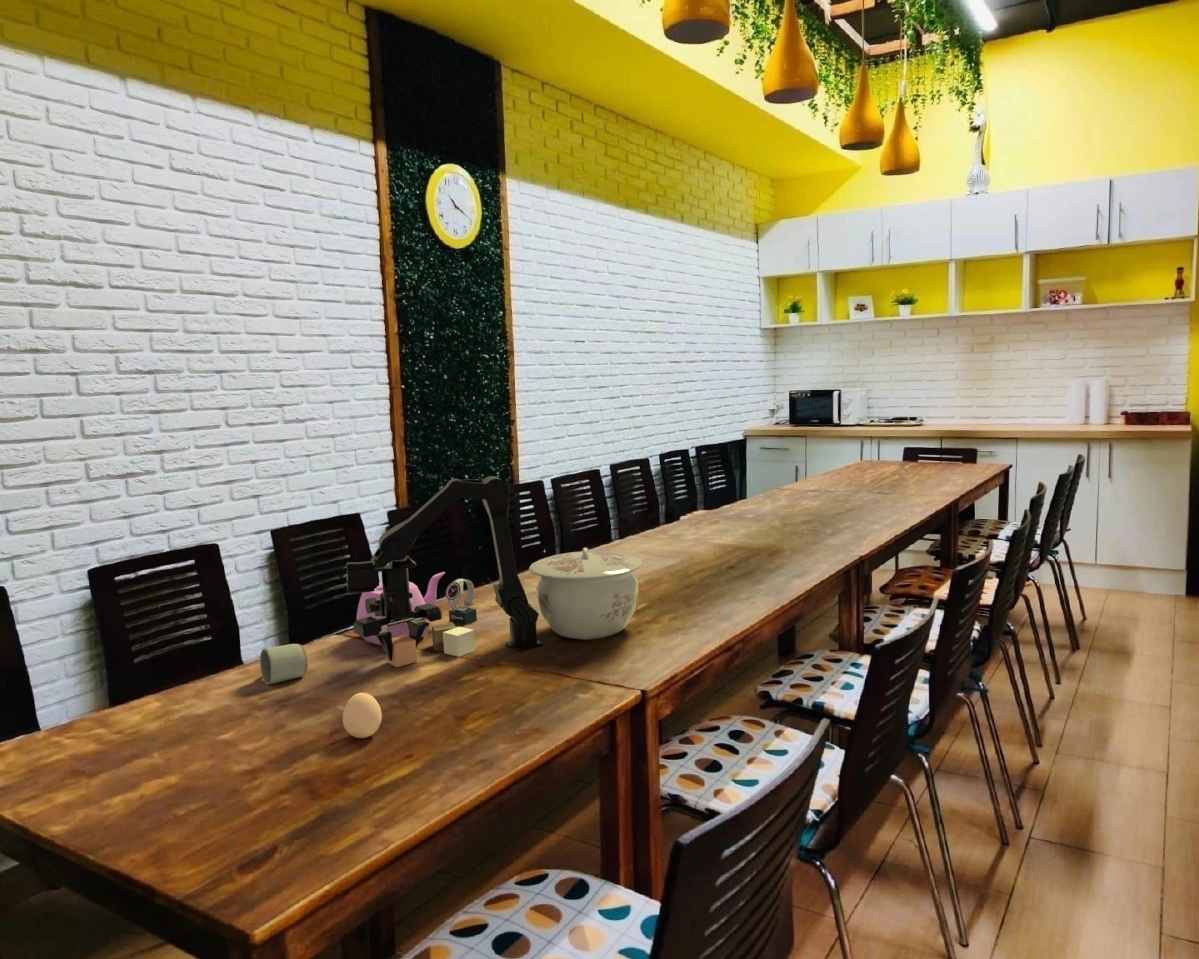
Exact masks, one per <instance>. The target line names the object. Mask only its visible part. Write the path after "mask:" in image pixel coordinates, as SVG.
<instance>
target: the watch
mask: <svg viewBox="0 0 1199 959" xmlns="http://www.w3.org/2000/svg"><path fill="white" fill-rule="evenodd" d="M464 583H465V584H466V587H467V591H466V594H465V592H464ZM475 591H476V590H475V587H474V583H473V582H472V580H469V579H465V578H457V579H455V580H454V581H452V582H451V583H449V584H448V585H447V587H446V589H445V597H446V601H447V603H448V605H449V607H450V608H451V609H450V610H449V609H448V617H449V618H448V619H449V621H448V623H450V622H453V623H454V624H455V625H461V626H462V625H463V626H467V625H469V624H472V623H475V622H478V618H477V617H478V616H477V608H473V607H471V606H472V605H473V602H474V598H475V593H476V592H475ZM464 594H465V598H464V602H463V605H462V606H458V603H459V600H460V599H461V598H462V596H463V595H464Z"/></svg>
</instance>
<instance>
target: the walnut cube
mask: <svg viewBox="0 0 1199 959" xmlns="http://www.w3.org/2000/svg"><path fill="white" fill-rule="evenodd" d="M430 625H431V637H432V646H433V649H434V650H435V652H442V651H444V643H443V632H445V631H448V630H451V629H454V628H457V626H456V624H455V623H453V622H444V623H438V624H437V623H436V624H430Z"/></svg>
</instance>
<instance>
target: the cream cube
mask: <svg viewBox="0 0 1199 959" xmlns="http://www.w3.org/2000/svg"><path fill="white" fill-rule="evenodd" d="M475 639H476V638H475V630H474V629H473V628H472V629H470V628H467V627H462V626H456V628H454V629H451V630H448V631H445V632H443V643H444V650H443V653H444V654H446V655H450V656H454V657H458V658H460V657H463V656H464V655H467V654H471V653H473V652H475V651H476V640H475Z"/></svg>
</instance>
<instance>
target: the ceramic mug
mask: <svg viewBox="0 0 1199 959" xmlns="http://www.w3.org/2000/svg"><path fill="white" fill-rule="evenodd" d="M259 655H260V656H259V666H260V672H261V676H262V678H263V681H264V683H265V684H266V685H274V684H278V683H282V682H285V681H288V680H289V681H290V680H294V679H298V678H300V677H303V676H304V675H305V674H306V673H307V671H308V668H309V667H308V664H309V663H308V656H307V652H306V649H305V647H304V646H303V645H301V644H299V643H290V644H285V645H277V646H270V647H265V648H262V649H261V652H260V654H259Z"/></svg>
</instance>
